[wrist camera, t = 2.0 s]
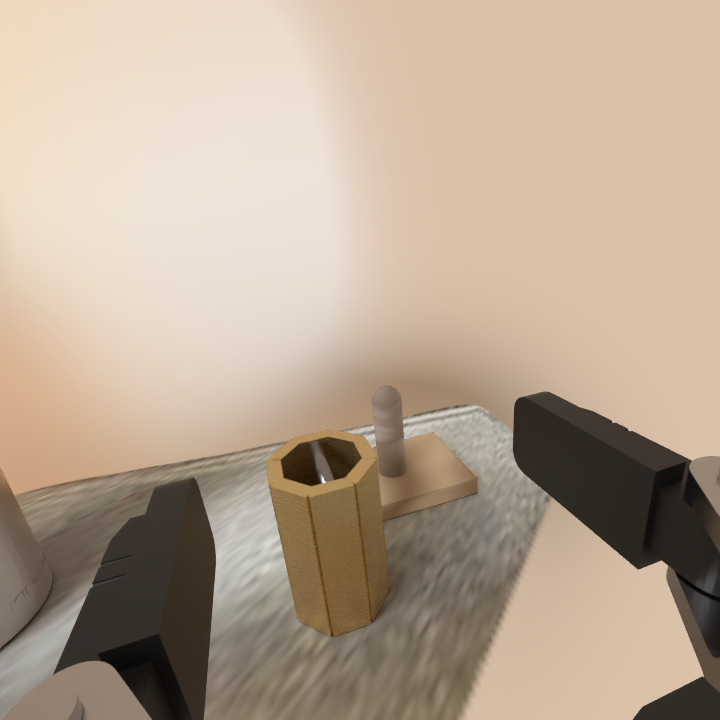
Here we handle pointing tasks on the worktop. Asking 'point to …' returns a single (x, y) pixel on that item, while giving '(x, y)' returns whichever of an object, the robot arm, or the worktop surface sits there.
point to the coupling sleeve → (331, 528)
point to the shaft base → (413, 463)
